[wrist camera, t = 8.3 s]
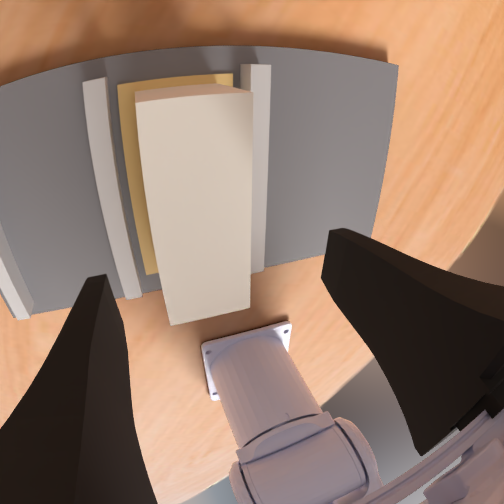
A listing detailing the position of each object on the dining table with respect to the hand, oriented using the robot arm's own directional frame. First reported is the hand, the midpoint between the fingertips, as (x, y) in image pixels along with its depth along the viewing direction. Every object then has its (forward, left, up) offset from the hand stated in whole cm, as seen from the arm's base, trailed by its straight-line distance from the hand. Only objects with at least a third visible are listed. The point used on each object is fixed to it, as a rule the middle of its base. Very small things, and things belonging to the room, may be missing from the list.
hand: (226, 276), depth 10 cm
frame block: (0, 0, -8) cm, 8 cm away
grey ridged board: (0, 0, -9) cm, 9 cm away
